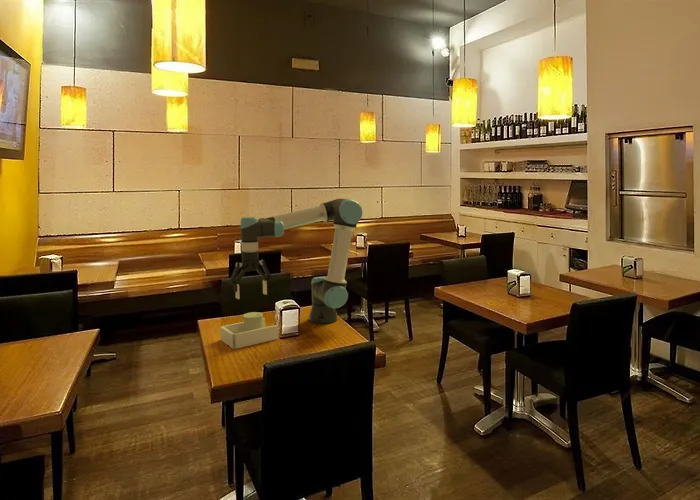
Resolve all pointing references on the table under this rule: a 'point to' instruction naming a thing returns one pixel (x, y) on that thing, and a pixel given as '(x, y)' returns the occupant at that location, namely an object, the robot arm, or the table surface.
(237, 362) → the table surface
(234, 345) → the open box
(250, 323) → the can
